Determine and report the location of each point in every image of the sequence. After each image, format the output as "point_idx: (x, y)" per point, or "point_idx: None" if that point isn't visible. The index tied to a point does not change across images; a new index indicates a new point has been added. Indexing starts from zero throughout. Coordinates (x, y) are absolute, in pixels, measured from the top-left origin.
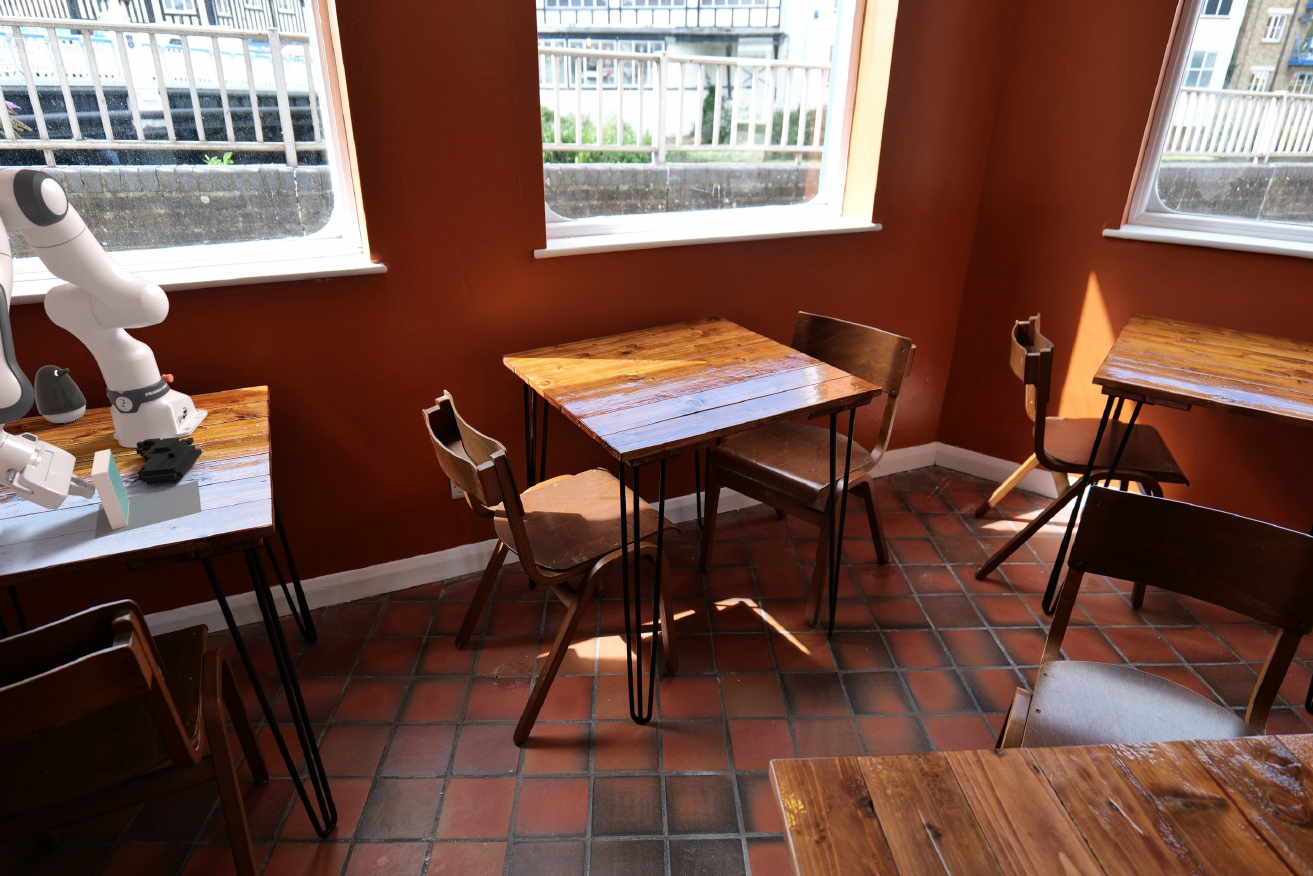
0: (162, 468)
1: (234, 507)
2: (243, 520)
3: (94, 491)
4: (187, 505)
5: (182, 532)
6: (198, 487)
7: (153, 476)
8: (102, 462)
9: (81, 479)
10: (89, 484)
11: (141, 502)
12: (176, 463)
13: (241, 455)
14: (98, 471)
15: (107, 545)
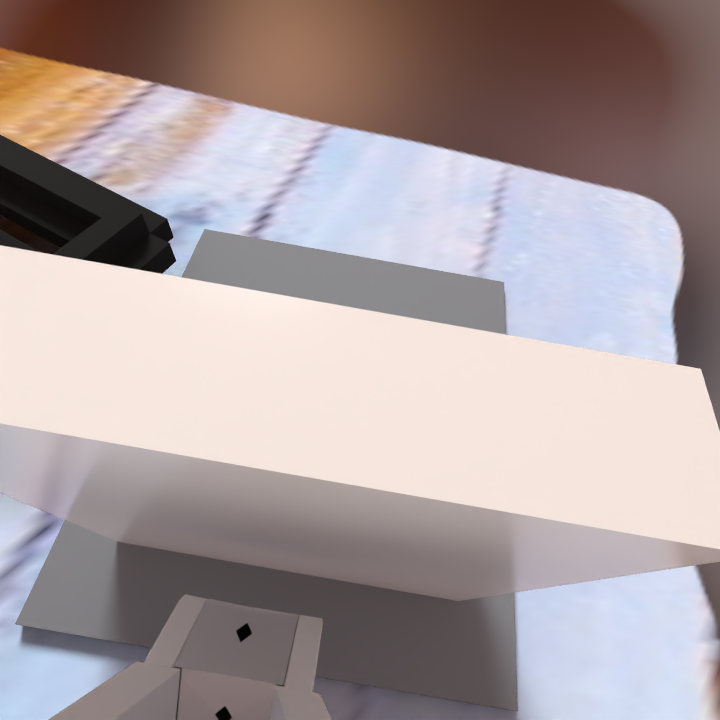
0: (84, 246)
1: (515, 217)
2: (624, 225)
3: (305, 616)
4: (415, 301)
5: None
6: (273, 242)
7: None
8: (318, 360)
9: (92, 718)
10: (184, 640)
11: None
12: (88, 197)
13: (104, 109)
14: (650, 447)
15: (606, 651)
